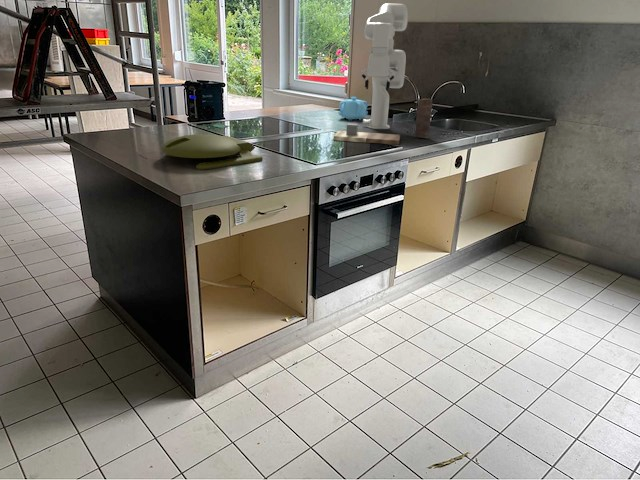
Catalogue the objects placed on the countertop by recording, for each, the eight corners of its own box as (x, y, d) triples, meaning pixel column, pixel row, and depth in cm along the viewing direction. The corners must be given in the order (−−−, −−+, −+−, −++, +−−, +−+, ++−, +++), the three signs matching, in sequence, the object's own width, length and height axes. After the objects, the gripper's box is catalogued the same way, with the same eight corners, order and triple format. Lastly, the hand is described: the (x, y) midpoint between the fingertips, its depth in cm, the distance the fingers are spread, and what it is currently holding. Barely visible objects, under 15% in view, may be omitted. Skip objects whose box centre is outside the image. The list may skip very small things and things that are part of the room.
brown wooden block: (419, 139, 248) (424, 99, 240) (411, 137, 254) (415, 97, 246) (431, 138, 251) (436, 99, 244) (422, 136, 257) (427, 97, 250)
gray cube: (346, 134, 243) (346, 124, 241) (347, 133, 247) (348, 123, 245) (356, 135, 242) (356, 125, 240) (357, 133, 246) (357, 123, 244)
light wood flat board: (333, 140, 239) (333, 136, 238) (338, 134, 254) (338, 130, 253) (398, 144, 234) (399, 140, 234) (399, 138, 249) (400, 134, 248)
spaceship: (224, 148, 216) (223, 126, 212) (265, 161, 195) (265, 137, 191) (148, 158, 194) (146, 133, 190) (185, 174, 173) (183, 147, 169)
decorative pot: (344, 122, 293) (345, 98, 288) (332, 117, 309) (333, 95, 304) (373, 121, 300) (375, 98, 294) (360, 116, 316) (361, 95, 311)
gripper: (360, 51, 226) (358, 89, 232) (398, 52, 223) (394, 91, 229) (362, 50, 232) (360, 87, 239) (398, 52, 230) (395, 89, 236)
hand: (377, 89), depth 234 cm, fingers open, 9 cm apart
